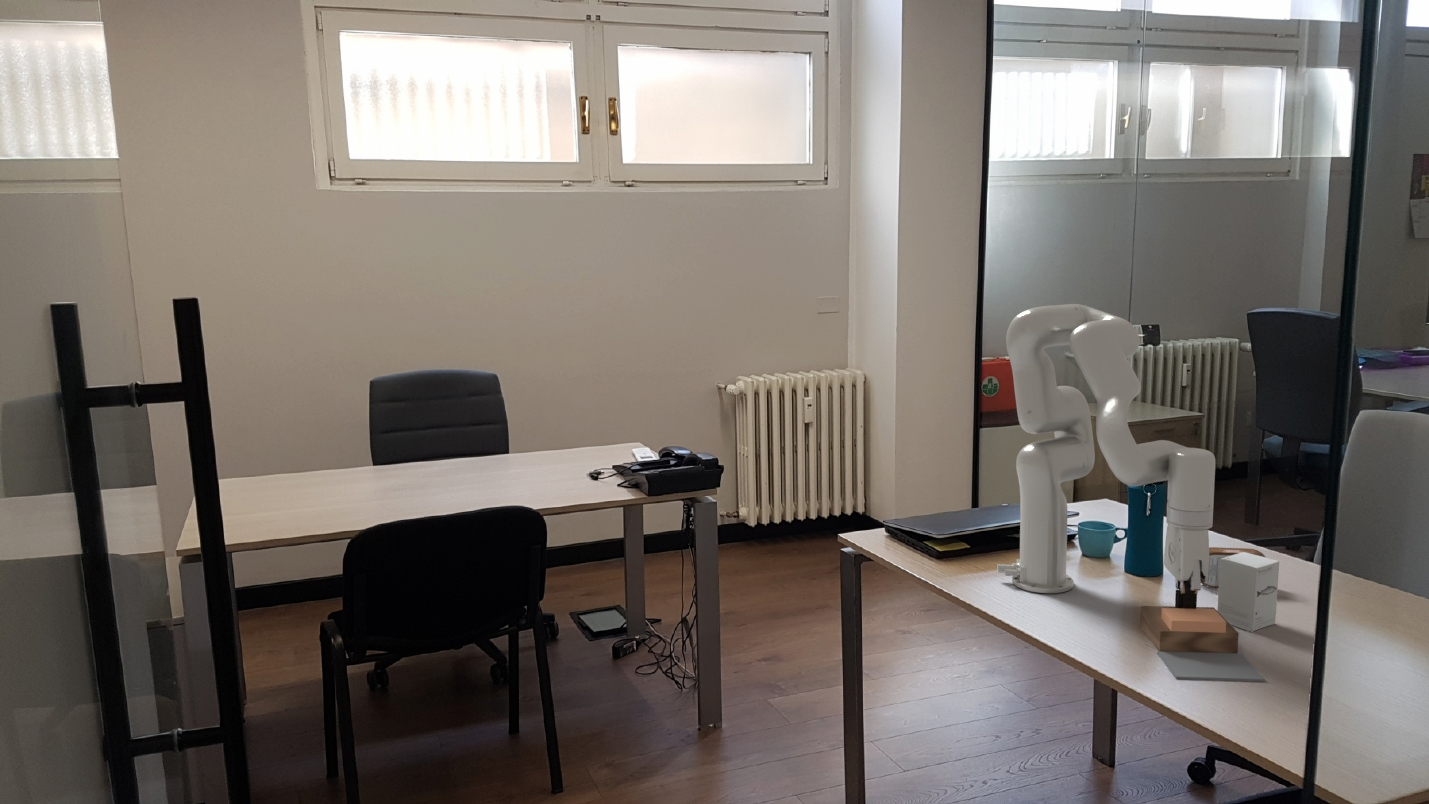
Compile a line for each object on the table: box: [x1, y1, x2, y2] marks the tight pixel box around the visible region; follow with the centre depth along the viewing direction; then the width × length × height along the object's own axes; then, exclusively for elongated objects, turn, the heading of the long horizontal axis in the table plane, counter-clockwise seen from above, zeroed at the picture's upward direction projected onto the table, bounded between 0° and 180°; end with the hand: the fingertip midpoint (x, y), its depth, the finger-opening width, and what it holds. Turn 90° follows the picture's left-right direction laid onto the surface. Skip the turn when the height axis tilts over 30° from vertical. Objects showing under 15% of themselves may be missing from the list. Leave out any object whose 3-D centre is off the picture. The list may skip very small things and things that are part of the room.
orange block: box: [1161, 608, 1226, 633], centre depth 170 cm, size 9×6×2 cm, turn 80°
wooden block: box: [1139, 605, 1239, 654], centre depth 173 cm, size 13×12×4 cm
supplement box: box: [1216, 552, 1280, 633], centre depth 179 cm, size 7×7×13 cm
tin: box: [1200, 546, 1267, 589], centre depth 197 cm, size 15×3×8 cm, turn 78°
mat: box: [1157, 650, 1266, 683], centre depth 162 cm, size 14×10×1 cm
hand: (1185, 611), depth 174 cm, fingers closed
